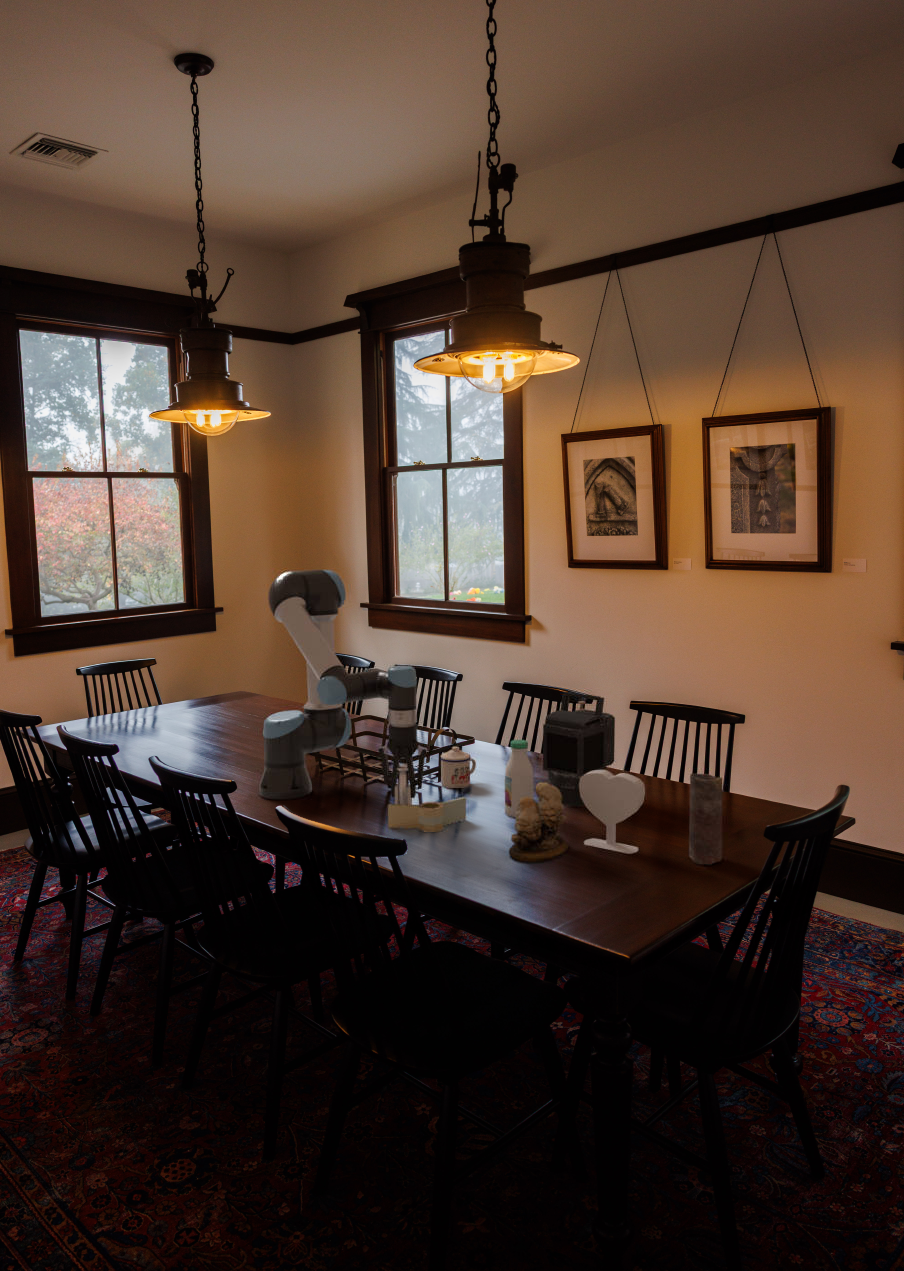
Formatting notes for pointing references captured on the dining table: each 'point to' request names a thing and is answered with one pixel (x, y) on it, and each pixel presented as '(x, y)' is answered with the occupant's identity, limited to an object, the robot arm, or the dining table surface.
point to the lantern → (576, 745)
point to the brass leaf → (414, 815)
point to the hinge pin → (402, 784)
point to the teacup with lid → (456, 768)
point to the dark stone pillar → (705, 819)
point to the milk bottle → (518, 777)
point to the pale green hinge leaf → (448, 813)
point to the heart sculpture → (611, 803)
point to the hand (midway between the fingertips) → (403, 808)
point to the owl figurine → (539, 827)
